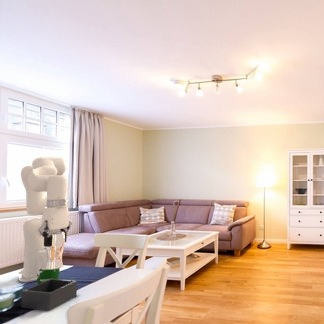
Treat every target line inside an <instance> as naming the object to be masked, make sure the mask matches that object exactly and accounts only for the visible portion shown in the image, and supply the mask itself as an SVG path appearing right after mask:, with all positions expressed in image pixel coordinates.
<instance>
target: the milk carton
mask: <svg viewBox="0 0 324 324" xmlns="http://www.w3.org/2000/svg"><path fill="white" fill-rule="evenodd" d="M46 265H47V253H46V247H45V248H42V249H41V250H40V251H39V254H38V267H37V282H36V283H37V284H36V285H38V284H40V283H42V282H45V281H47V280H50V279H59V278H60V271H61V268H58V269H53V270H47V269H46Z"/></svg>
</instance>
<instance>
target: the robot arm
mask: <svg viewBox="0 0 324 324" xmlns="http://www.w3.org/2000/svg"><path fill="white" fill-rule="evenodd" d="M66 170H67V162H66V161H65V159H64V158H62V157H55V156H54V157H52V156H39V157H36V158H35V159H33V161H32V162H31V165H26V166H23V167H22V168H21V170H20V178H21V182H22V185H23V187H24V189H25V196H26V197H25V202H26V207H25V209H26V214H27V215H29V216H33V218H28V219H27V220H25V221H24V222H23V225H22V231H23V237H24V240H23V241H24V245H23V247H24V248H23V249H24V250H23V268H21V270H19V271H18V274H20V275H21V276H20V277H19V278H18V281H19V282H22V283H30V282H36V281H37V267H38V254H39V251H40V250H41V249H42V248H45V247H50V246H51V241H52V237H50V236H51V234H52V232H59V231H62V232H65V243H67V239H68V237H67V236H68V233H69V230H70V229H71V227H72V225H73V222H71V220H70V212H69V206H68V202H69V200H68V194H69V193H68V191H69V190H68V189H69V178H68V176H66V175H64V174H65V172H66ZM37 216H41V217H37Z"/></svg>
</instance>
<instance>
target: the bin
mask: <svg viewBox="0 0 324 324" xmlns="http://www.w3.org/2000/svg"><path fill="white" fill-rule="evenodd" d="M77 293H78V280H73V279H72V280H71V279H50V280H47V281H45V282H42V283H40V284H36V285H33V286H30V287H27V288H25V289H23V290H22V291H21V307H20V308H23V309H30V310H31V309H32V310H40V311H51V310H54V309H55V308H57V307H59V306H61V305H63V304H64V303H66V302H68V301H70V300H72V299H74V298H76V297H77V296H78V295H77Z"/></svg>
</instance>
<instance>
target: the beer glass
mask: <svg viewBox="0 0 324 324" xmlns="http://www.w3.org/2000/svg"><path fill="white" fill-rule="evenodd" d="M50 237H52V241H51V246H50V247H46V253H47V265H46V269H47V270H53V269H58V268H60V269H61V268H63V267H64V263H63V255H64V251H65V247H66V242H65V232H62V231H59V232H52V234H51V236H50Z"/></svg>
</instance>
